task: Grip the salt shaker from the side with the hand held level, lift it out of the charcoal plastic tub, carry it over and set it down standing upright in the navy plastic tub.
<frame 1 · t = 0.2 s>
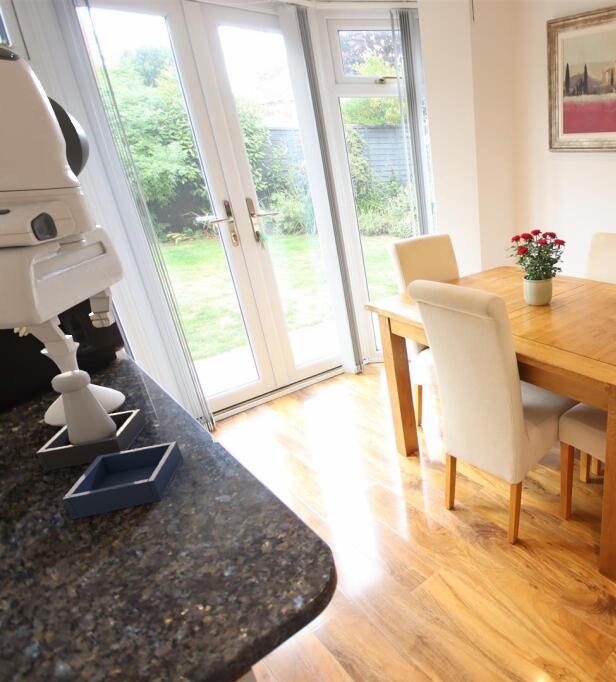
hand: (86, 338, 54), 24 cm above the kitchen counter, tool pointing down, fingers open, 8 cm apart
flower in vase: (90, 418, 85), on the kitchen counter
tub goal: (132, 486, 66), on the kitchen counter
salt shaker: (99, 445, 76), resting on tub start
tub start: (99, 446, 76), on the kitchen counter
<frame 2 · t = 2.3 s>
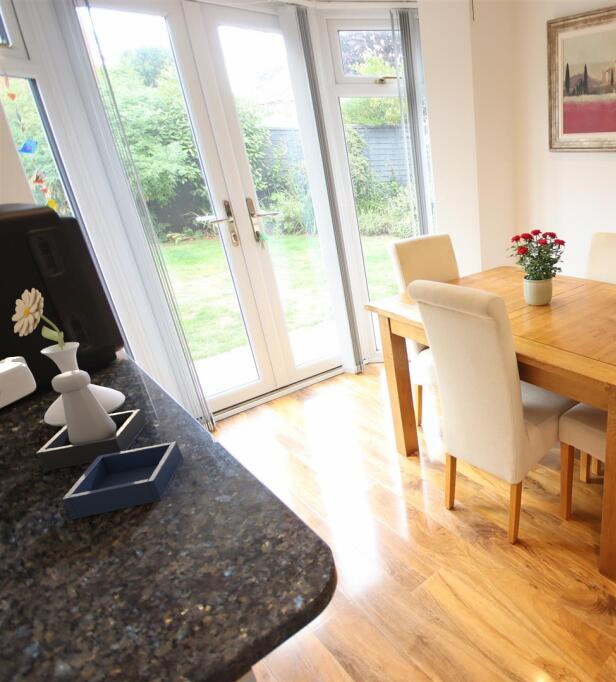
nothing on the kitchen counter moved.
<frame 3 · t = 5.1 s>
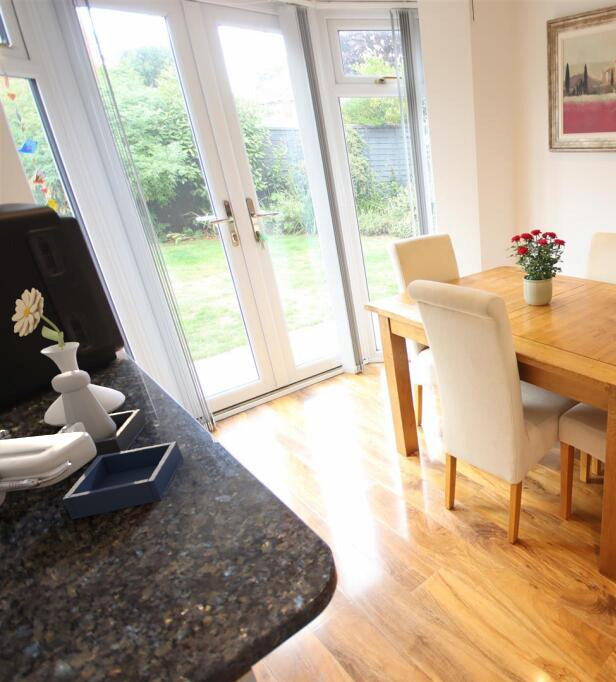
hand: (41, 430, 66), 8 cm above the kitchen counter, tool horizontal, fingers open, 8 cm apart
nothing on the kitchen counter moved.
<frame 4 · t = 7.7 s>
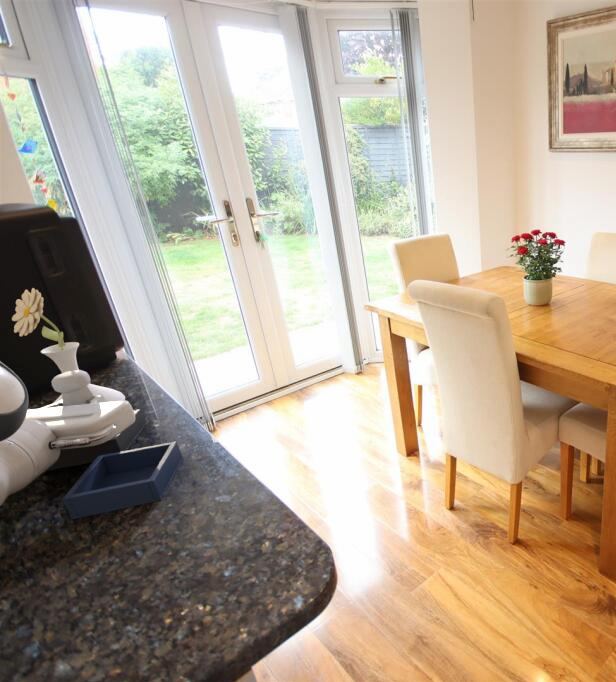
hand: (84, 401, 74), 8 cm above the kitchen counter, tool horizontal, fingers closed on salt shaker, 3 cm apart
salt shaker: (99, 445, 76), resting on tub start, touching gripper
everything else where it was.
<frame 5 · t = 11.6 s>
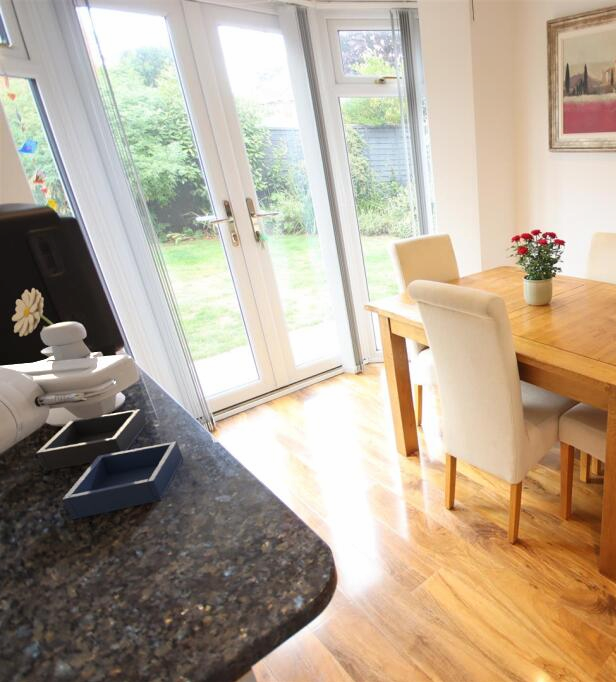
hand: (80, 359, 63), 18 cm above the kitchen counter, tool horizontal, fingers closed on salt shaker, 3 cm apart
salt shaker: (96, 412, 65), point 10 cm above the kitchen counter, touching gripper
everything else where it was.
when the fingers open (8 cm above the kitchen counter, at t = 15.4 s): salt shaker stays where it is, resting on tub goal.
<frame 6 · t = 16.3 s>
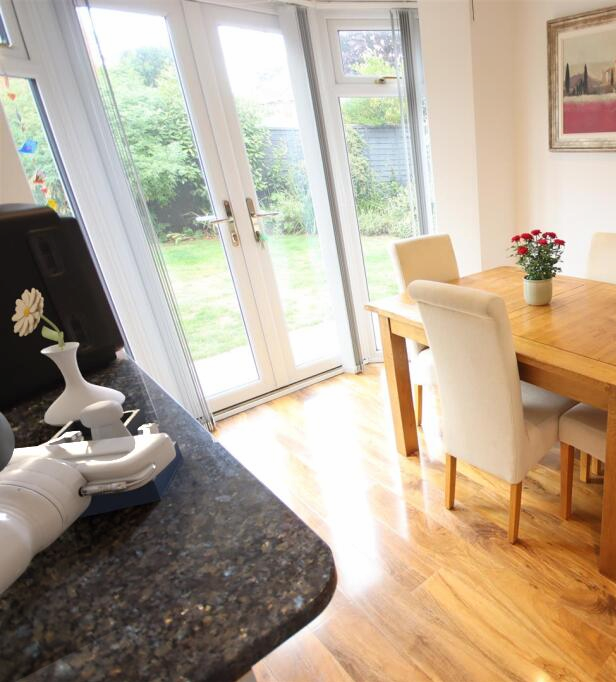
hand: (115, 431, 63), 9 cm above the kitchen counter, tool horizontal, fingers open, 8 cm apart
salt shaker: (132, 486, 66), resting on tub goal
everything else where it was.
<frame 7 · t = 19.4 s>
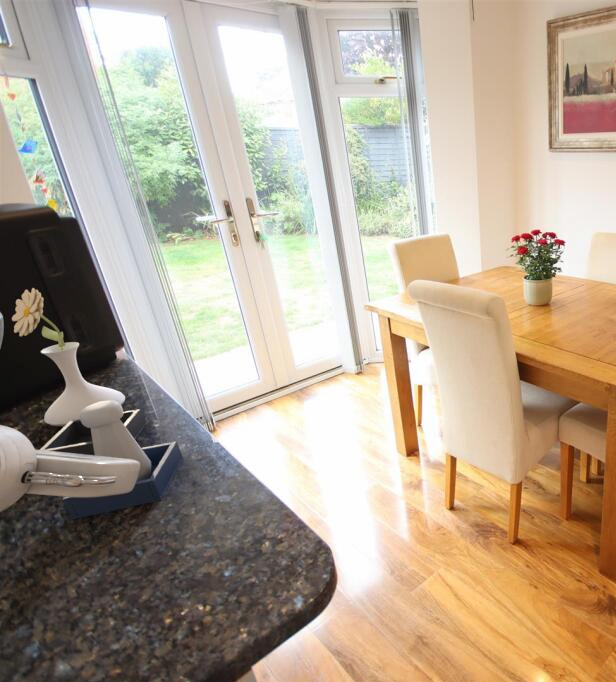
hand: (66, 464, 55), 9 cm above the kitchen counter, tool tilted 60°, fingers open, 8 cm apart
nothing on the kitchen counter moved.
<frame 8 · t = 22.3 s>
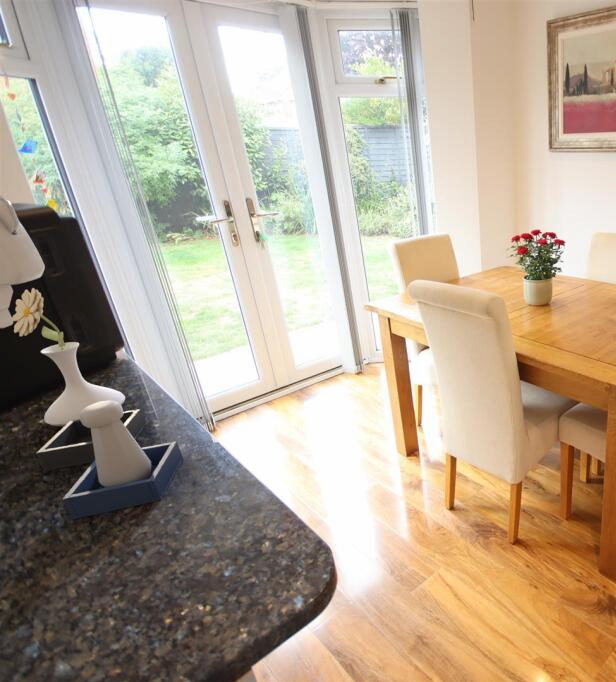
nothing on the kitchen counter moved.
at the end: salt shaker 0.1 cm off-centre in the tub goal, point 0.1 cm above the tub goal's base; salt shaker tilted 0°; the gripper is holding nothing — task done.
